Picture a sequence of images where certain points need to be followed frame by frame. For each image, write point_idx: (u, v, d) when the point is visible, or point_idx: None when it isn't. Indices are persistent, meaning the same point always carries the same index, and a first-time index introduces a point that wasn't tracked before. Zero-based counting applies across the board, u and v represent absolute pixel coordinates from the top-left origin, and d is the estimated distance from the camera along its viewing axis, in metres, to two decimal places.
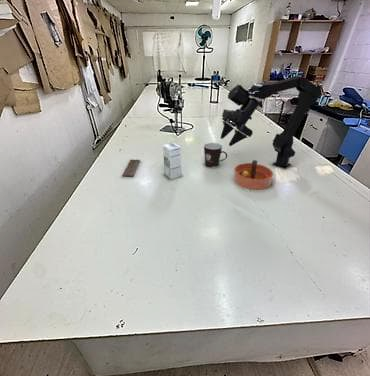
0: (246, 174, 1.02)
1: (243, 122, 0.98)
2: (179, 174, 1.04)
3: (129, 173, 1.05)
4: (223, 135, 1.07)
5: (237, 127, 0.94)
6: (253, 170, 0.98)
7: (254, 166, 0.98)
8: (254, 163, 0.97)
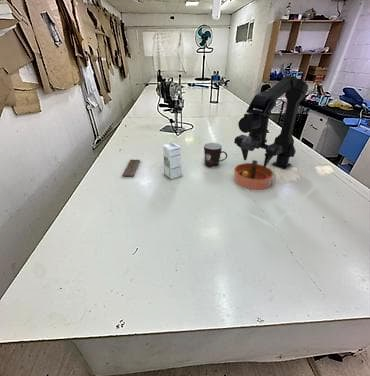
0: (246, 174, 1.02)
1: (264, 140, 0.92)
2: (179, 174, 1.04)
3: (129, 173, 1.05)
4: (245, 156, 1.00)
5: (268, 152, 0.89)
6: (253, 170, 0.98)
7: (254, 166, 0.98)
8: (254, 163, 0.97)
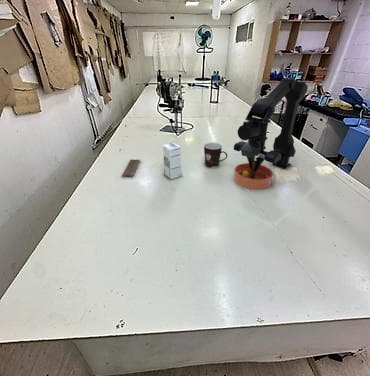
0: (246, 174, 1.02)
1: (263, 147, 0.93)
2: (179, 174, 1.04)
3: (129, 173, 1.05)
4: None
5: (266, 159, 0.90)
6: (253, 170, 0.98)
7: (254, 166, 0.98)
8: (254, 163, 0.97)
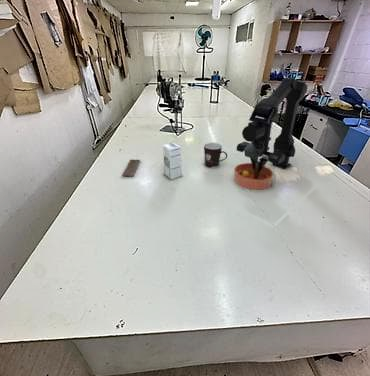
0: (246, 174, 1.02)
1: (267, 148, 0.92)
2: (179, 174, 1.04)
3: (129, 173, 1.05)
4: None
5: (270, 160, 0.88)
6: (256, 171, 0.97)
7: (257, 167, 0.96)
8: (257, 164, 0.95)
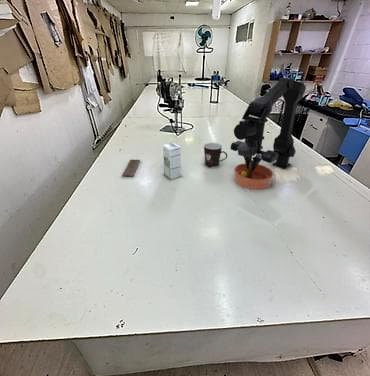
0: (243, 174, 1.01)
1: (260, 146, 0.92)
2: (179, 174, 1.04)
3: (129, 173, 1.05)
4: None
5: (263, 159, 0.89)
6: (250, 170, 0.97)
7: (251, 166, 0.96)
8: (251, 163, 0.96)
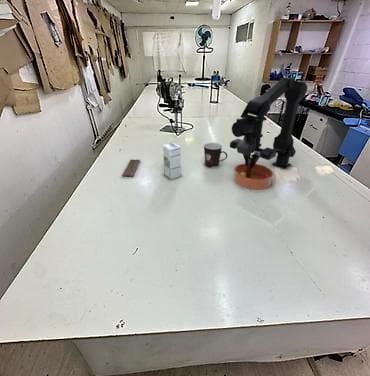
0: None
1: (259, 144, 0.94)
2: (179, 174, 1.04)
3: (129, 173, 1.05)
4: None
5: (262, 156, 0.91)
6: (249, 167, 1.00)
7: (250, 163, 0.99)
8: (250, 160, 0.98)
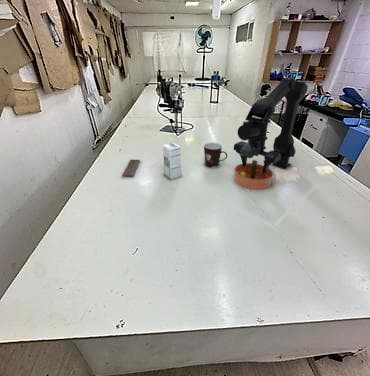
0: None
1: (263, 147, 0.93)
2: (179, 174, 1.04)
3: (129, 173, 1.05)
4: (245, 163, 1.02)
5: (266, 159, 0.90)
6: (253, 170, 0.98)
7: (254, 166, 0.98)
8: (254, 163, 0.97)
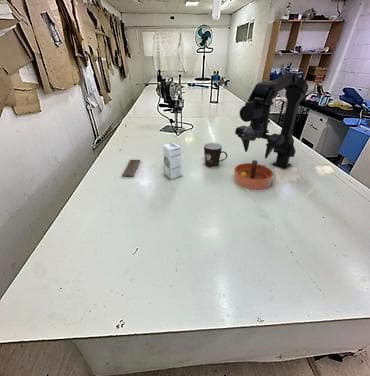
0: None
1: (266, 130, 0.90)
2: (179, 174, 1.04)
3: (129, 173, 1.05)
4: (246, 148, 0.99)
5: (269, 142, 0.87)
6: (253, 170, 0.98)
7: (254, 166, 0.98)
8: (254, 163, 0.97)
